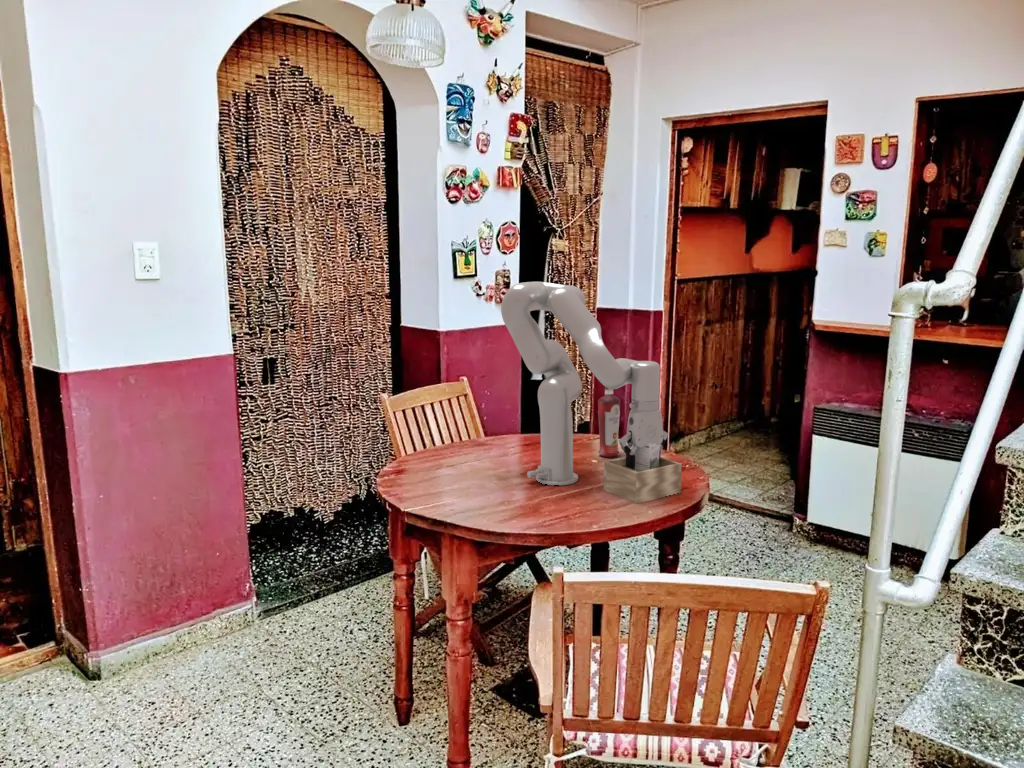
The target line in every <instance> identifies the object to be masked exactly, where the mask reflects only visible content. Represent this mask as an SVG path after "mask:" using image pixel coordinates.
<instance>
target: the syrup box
mask: <svg viewBox="0 0 1024 768" xmlns="http://www.w3.org/2000/svg"><path fill="white" fill-rule="evenodd" d="M659 451H660V444H659V445H656V443H648V444H647V446H646V447H643V448H638V447H637V449H636V451H635V452H634V455H635V468H634V469H632V470H634V471H637V472H641V471H645V470H650V469H654V468H659Z"/></svg>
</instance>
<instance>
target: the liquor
mask: <svg viewBox="0 0 1024 768" xmlns="http://www.w3.org/2000/svg"><path fill="white" fill-rule="evenodd" d="M597 408H598V412H597V413H598V427H599V429H598V430H599V450H598V453H599V455H600V456H601V457H603V458H607V457H612V458H614V457H616V456H617V455H618V454H619V453H620V451H619V427H620V416H621V399H619V398H618V397H617V396H616V395H615V394H614V389H610V388H607V387H605V386H604V396H602V397H600V398H598V399H597Z"/></svg>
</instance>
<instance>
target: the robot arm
mask: <svg viewBox="0 0 1024 768" xmlns="http://www.w3.org/2000/svg"><path fill="white" fill-rule="evenodd" d="M584 293H585V292H583V291H582V289H581V288H579V287H577V286H575V285H569V284H562V283H561V284H560V283H552V282H547V281H546V282H544V281H526V282H519V283H516V284H514V285H513V286H510V288H509V289H507V291H506V292H505V294H504V295H503V298H502V299H501V300H502V301H501V304H500V305H501V307H500V313H501V314H500V315H501V318H502V321H503V323H504V325H505V328H507V331H508V332H509V334H510V336H511V339H512V340H513V343H514V345H515V346H516V349H517V350H518V352H519V354H520V356H521V358H522V360H523V363H524V364H525V366H526V368H527V369H528V370H529V371H530V372H531V373H532V374H533V375H538V376H539V375H545V377H546V378H544V379H543V381H542V382H541V383H540V385H539V386H538V389H537V403H538V407H539V418H540V419H539V421H540V422H539V423H540V425H539V426H540V464H539V465H537V468H536V469H535V470H528V471H527V473H526V476H527V478H528V479H530V478H535V480H537V481H538V482H537V481H536V482H537V483H539V482H540V483H539V484H541V483H542V485H545V484H547V486H554V485H559V486H560V487H561V486H568V485H572V484H573V485H574V484H575V483H577V482H578V480H579V475H578V474H577V473H575V472H574V428H573V427H574V424H573V423H574V422H573V413H572V412H573V411H572V408H571V407H572V406H571V403H572V402H573V401H575V400H577V399H578V398H579V397H580V395H581V393H582V389H583V384H582V380H581V378H580V376H579V373H578V372H577V369H576V368H575V366H574V364H573V362H572V360H571V358H570V356H569V354H568V352H567V351H566V349H565V348H564V346H563V345H562V344H561V343H560V342H558V341H557V340H554V339H546V338H545V337H546V336H545V335H544V334H543V332H542V331H541V328H540V326H539V324H538V323H537V321H536V320H535V319H534V318H533V317H532V315H531V312H532V311H545V312H547V311H548V312H551V313H552V315H553V316H554V317H555V318H556V319H557V321H558V322H559V323H560V324H561V325H562V327H563V328H564V329H565V330H566V332H567V333H568V334H569V336H570V337H571V338H572V339H573V341H574V343H575V344H576V346H577V348H578V352H579V353H580V355H581V358H582V359H583V361H584V363H585V365H586V366H587V368H588V369H589V370H590V371H591V373H592V374H593V376H595V378H596V379H597V380H598V382H600V384H602V385H603V386H604V388H605V387H607V388H610V389H613V390H617V389H619V388H621V387H624V386H626V385H630V384H631V402H630V403H629V406H628V407H629V408H630V410H629V413H628V417H627V426H626V434H625V435H623V436H622V437H621V438H620V439H618V444H619V445H620V448H621V449H622V451H623V453H624V454H625V457H626V467H629V468H631V469H634V468H635V455H634V452H635V451H636V449H637V447H638V448H643V447H646V446H647V444H648V443H656V445H659V444H660V451H659V464H660V457H661V456H662V455H661V451H662V450H663V448H664V445H665V443H666V442H667V441H666V440H667V438H668V436H669V433H668V432H666V431H665V430H664V426H663V425H664V424H663V423H664V422H663V416H662V411H661V409H659V407H660V406H659V405H660V404H659V403H660V380H661V367H660V366H661V365H660V364H659V363H658V362H656V361H654V360H634V359H631V358H630V359H629V358H625V357H624V358H623V357H621V358H620V357H619V358H616V359H615V358H614V356H613V355H612V354H611V352H610V351H609V349H608V348H607V346H606V344H605V343H604V341H603V338H602V327H601V324H600V323H599V321H598V319H596V317H595V316H594V315H593V314H592V313H591V312H590V310H589V309H588V308H587V306H586V296H585V294H584ZM559 486H558V487H559Z"/></svg>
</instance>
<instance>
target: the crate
mask: <svg viewBox="0 0 1024 768" xmlns="http://www.w3.org/2000/svg"><path fill="white" fill-rule="evenodd" d="M603 467H604V474H603V475H604V477H603V478H604V479H603V481H604V482H603V484H604V485H603V486H604V487H603V490H605V491H604V492H607V493H609V492H610V493H609V494H612V493H613V494H612V495H614V494H615V495H614V496H617V495H618V496H617V497H619V496H620V497H619V498H622V497H623V499H624V498H626V499H625V500H627V499H628V500H627V501H630V502H632V501H633V502H632V503H635V504H637V503H639V504H642V502H643V503H646V501H647V502H650V500H651V501H654V499H655V500H659V499H661V498H662V497H663V498H665V496H667V497H670V496H669V495H671V496H674V495H673V494H675V495H678V494H677V493H679V494H681V491H682V463H681V462H677V461H675V460H670V459H667V458H664V457H661V456H660V464H659V468H654V469H650V470H645V471H641V472H637V471H634V470H632V469H631V468H629V467H626V456H625V457H621V458H616V459H612V460H611V459H610V460H607V461H604V465H603ZM658 498H659V499H658Z"/></svg>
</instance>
